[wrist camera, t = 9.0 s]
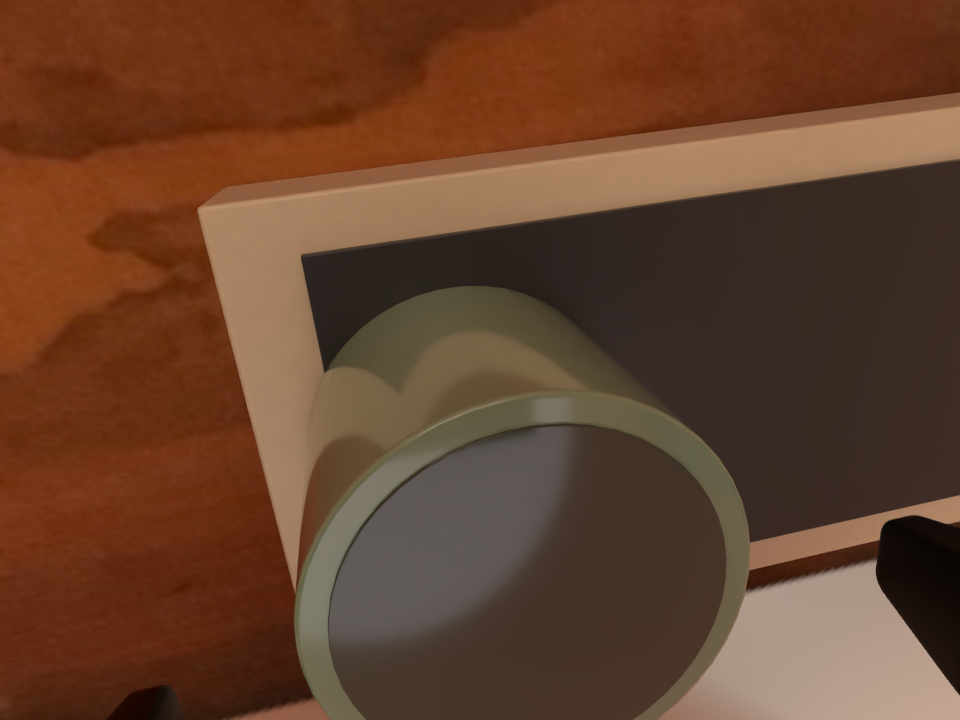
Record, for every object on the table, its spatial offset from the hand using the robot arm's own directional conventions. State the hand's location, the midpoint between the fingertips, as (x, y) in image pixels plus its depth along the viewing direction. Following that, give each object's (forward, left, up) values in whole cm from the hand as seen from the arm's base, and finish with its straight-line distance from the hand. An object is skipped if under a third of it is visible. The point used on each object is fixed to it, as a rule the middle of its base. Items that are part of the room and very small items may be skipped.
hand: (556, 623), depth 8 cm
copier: (-3, -5, -9) cm, 10 cm away
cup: (0, 0, -5) cm, 5 cm away
